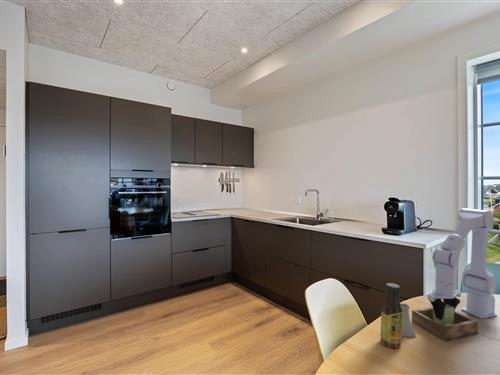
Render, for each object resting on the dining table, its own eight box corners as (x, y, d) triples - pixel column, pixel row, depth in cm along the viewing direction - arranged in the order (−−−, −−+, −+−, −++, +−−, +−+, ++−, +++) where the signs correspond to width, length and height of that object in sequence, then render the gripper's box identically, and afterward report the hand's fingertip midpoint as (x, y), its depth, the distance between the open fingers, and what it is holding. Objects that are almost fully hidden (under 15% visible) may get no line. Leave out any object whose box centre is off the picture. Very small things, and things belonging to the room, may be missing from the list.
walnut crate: (441, 315, 107) (442, 305, 107) (477, 333, 94) (478, 321, 94) (411, 321, 102) (412, 310, 102) (445, 341, 90) (445, 328, 89)
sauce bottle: (393, 351, 84) (394, 290, 83) (376, 341, 89) (377, 283, 89) (406, 346, 87) (407, 286, 86) (388, 336, 92) (389, 280, 92)
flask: (409, 327, 98) (409, 301, 98) (419, 338, 91) (420, 310, 91) (389, 326, 99) (389, 300, 99) (397, 337, 92) (398, 309, 92)
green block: (441, 317, 101) (441, 301, 101) (453, 323, 97) (454, 307, 97) (433, 319, 100) (433, 303, 100) (444, 325, 95) (445, 308, 95)
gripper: (447, 275, 104) (446, 309, 104) (420, 279, 99) (419, 314, 100) (467, 282, 97) (466, 318, 97) (438, 286, 93) (437, 324, 93)
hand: (443, 317), depth 98 cm, fingers closed on green block, 4 cm apart
